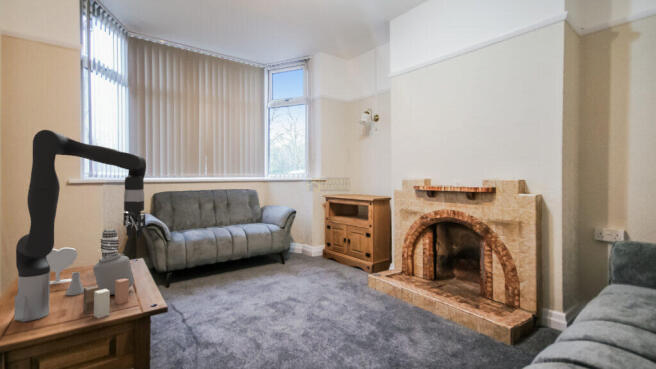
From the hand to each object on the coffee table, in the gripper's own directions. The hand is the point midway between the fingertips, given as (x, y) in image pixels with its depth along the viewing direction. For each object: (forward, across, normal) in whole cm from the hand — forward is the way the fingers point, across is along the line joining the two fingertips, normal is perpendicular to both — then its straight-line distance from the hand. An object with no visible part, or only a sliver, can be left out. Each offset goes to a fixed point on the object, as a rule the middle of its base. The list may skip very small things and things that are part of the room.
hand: (134, 237), depth 134 cm
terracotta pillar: (+31, -11, 0) cm, 33 cm away
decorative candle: (+32, -71, +18) cm, 80 cm away
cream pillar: (+31, -2, -12) cm, 33 cm away
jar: (+31, -27, +2) cm, 41 cm away
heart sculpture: (+31, -67, -8) cm, 74 cm away
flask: (+31, -40, -8) cm, 51 cm away
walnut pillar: (+31, -10, -12) cm, 35 cm away
